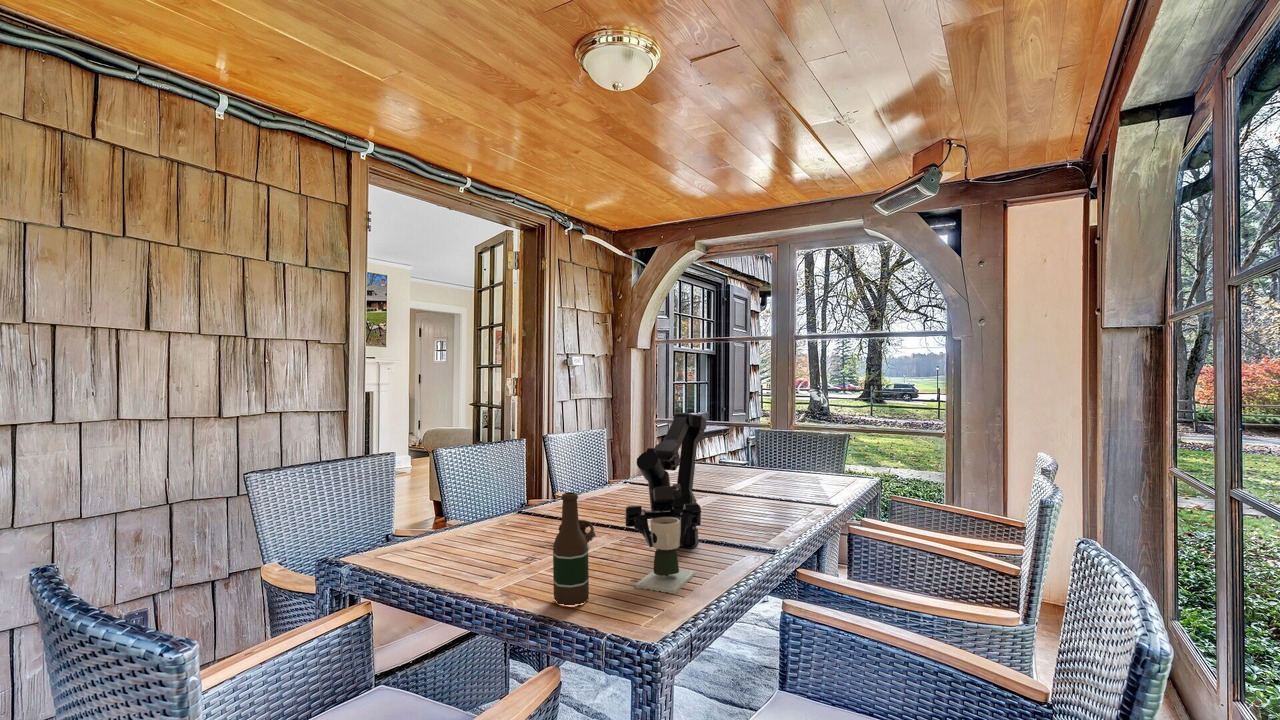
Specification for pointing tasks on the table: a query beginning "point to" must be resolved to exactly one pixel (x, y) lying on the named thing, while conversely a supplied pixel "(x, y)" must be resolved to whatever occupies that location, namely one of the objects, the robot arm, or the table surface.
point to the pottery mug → (583, 525)
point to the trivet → (665, 581)
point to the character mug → (665, 544)
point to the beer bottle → (570, 557)
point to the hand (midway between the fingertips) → (666, 546)
